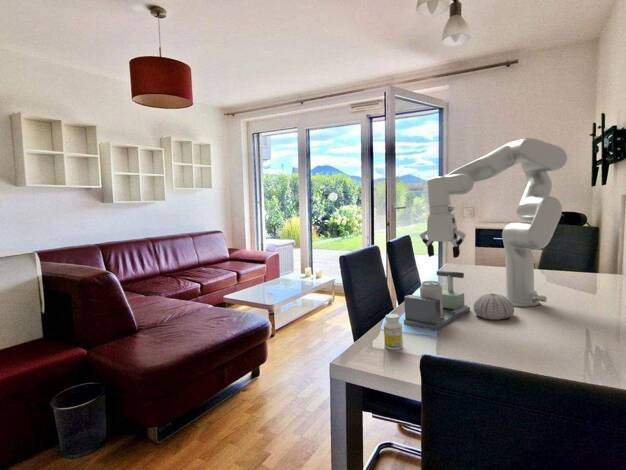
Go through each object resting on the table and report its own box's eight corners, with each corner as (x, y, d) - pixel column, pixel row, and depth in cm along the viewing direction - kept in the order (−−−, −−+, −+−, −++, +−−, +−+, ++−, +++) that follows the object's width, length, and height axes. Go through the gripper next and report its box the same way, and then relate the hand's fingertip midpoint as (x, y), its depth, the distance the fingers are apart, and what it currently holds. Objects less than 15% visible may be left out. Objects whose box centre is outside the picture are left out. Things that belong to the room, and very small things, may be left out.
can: (422, 318, 129) (420, 284, 128) (420, 312, 136) (418, 280, 135) (444, 318, 127) (443, 284, 126) (441, 311, 134) (440, 279, 133)
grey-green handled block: (465, 305, 139) (464, 272, 137) (458, 309, 134) (457, 275, 133) (441, 302, 146) (439, 269, 145) (433, 305, 142) (431, 272, 141)
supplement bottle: (397, 351, 107) (396, 319, 106) (381, 348, 110) (379, 316, 110) (406, 345, 111) (404, 314, 110) (390, 342, 115) (388, 312, 114)
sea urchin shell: (474, 321, 128) (473, 298, 127) (472, 309, 140) (472, 289, 140) (517, 323, 123) (516, 299, 122) (512, 311, 135) (511, 289, 135)
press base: (470, 310, 139) (469, 286, 138) (435, 330, 121) (433, 302, 120) (440, 305, 148) (439, 282, 147) (403, 323, 130) (402, 297, 129)
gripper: (468, 208, 131) (471, 255, 132) (423, 210, 143) (427, 254, 145) (458, 210, 126) (462, 259, 127) (413, 212, 138) (417, 257, 140)
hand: (443, 256), depth 136 cm, fingers open, 9 cm apart
